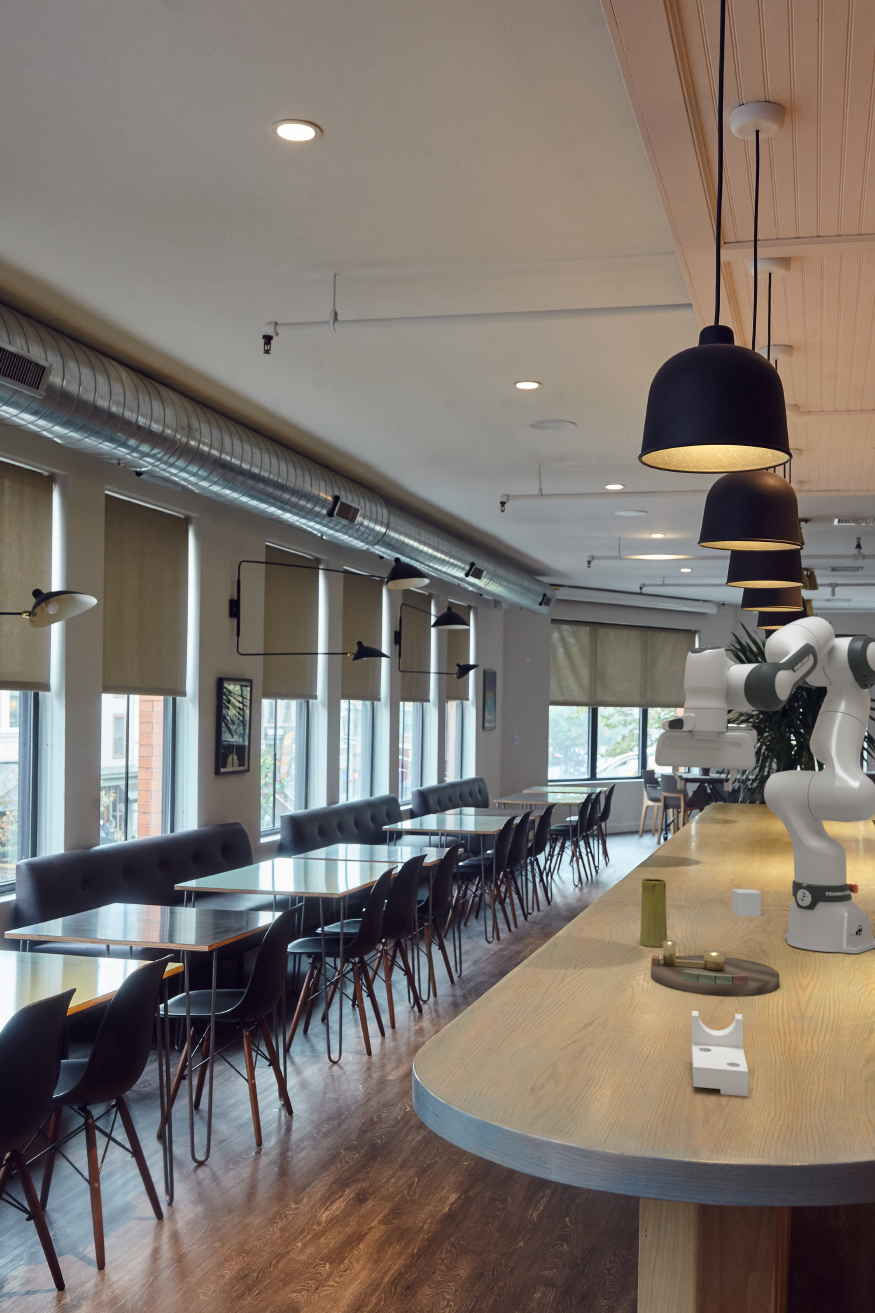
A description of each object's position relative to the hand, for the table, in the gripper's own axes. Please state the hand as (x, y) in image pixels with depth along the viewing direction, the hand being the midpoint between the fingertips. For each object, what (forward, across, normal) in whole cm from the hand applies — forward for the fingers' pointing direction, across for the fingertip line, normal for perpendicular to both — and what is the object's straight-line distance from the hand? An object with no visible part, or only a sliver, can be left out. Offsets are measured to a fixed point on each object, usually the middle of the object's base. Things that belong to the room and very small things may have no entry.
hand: (704, 790), depth 217 cm
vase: (+36, +10, -18) cm, 41 cm away
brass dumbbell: (+34, +2, +11) cm, 35 cm away
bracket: (+38, -1, +69) cm, 78 cm away
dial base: (+36, -2, +11) cm, 38 cm away
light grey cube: (+34, -12, -64) cm, 74 cm away
